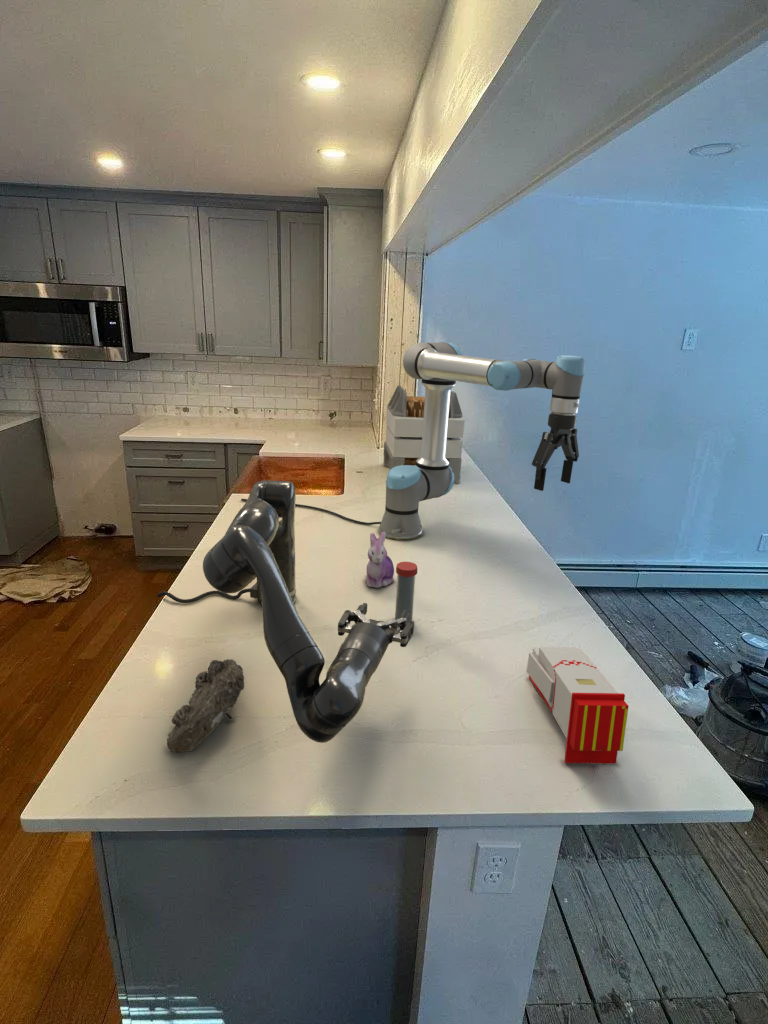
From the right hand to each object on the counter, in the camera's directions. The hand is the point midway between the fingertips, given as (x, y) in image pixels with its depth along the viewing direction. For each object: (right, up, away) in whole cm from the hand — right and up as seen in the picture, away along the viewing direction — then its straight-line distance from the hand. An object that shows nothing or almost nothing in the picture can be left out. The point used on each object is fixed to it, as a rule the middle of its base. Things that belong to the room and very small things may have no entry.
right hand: (552, 485), depth 166 cm
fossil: (-82, -47, -57) cm, 110 cm away
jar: (-44, -36, -22) cm, 61 cm away
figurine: (-51, -28, -1) cm, 58 cm away
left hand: (-49, -28, -48) cm, 74 cm away
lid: (-44, -21, -27) cm, 56 cm away
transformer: (-32, +11, +109) cm, 115 cm away
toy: (-13, -48, -52) cm, 72 cm away
